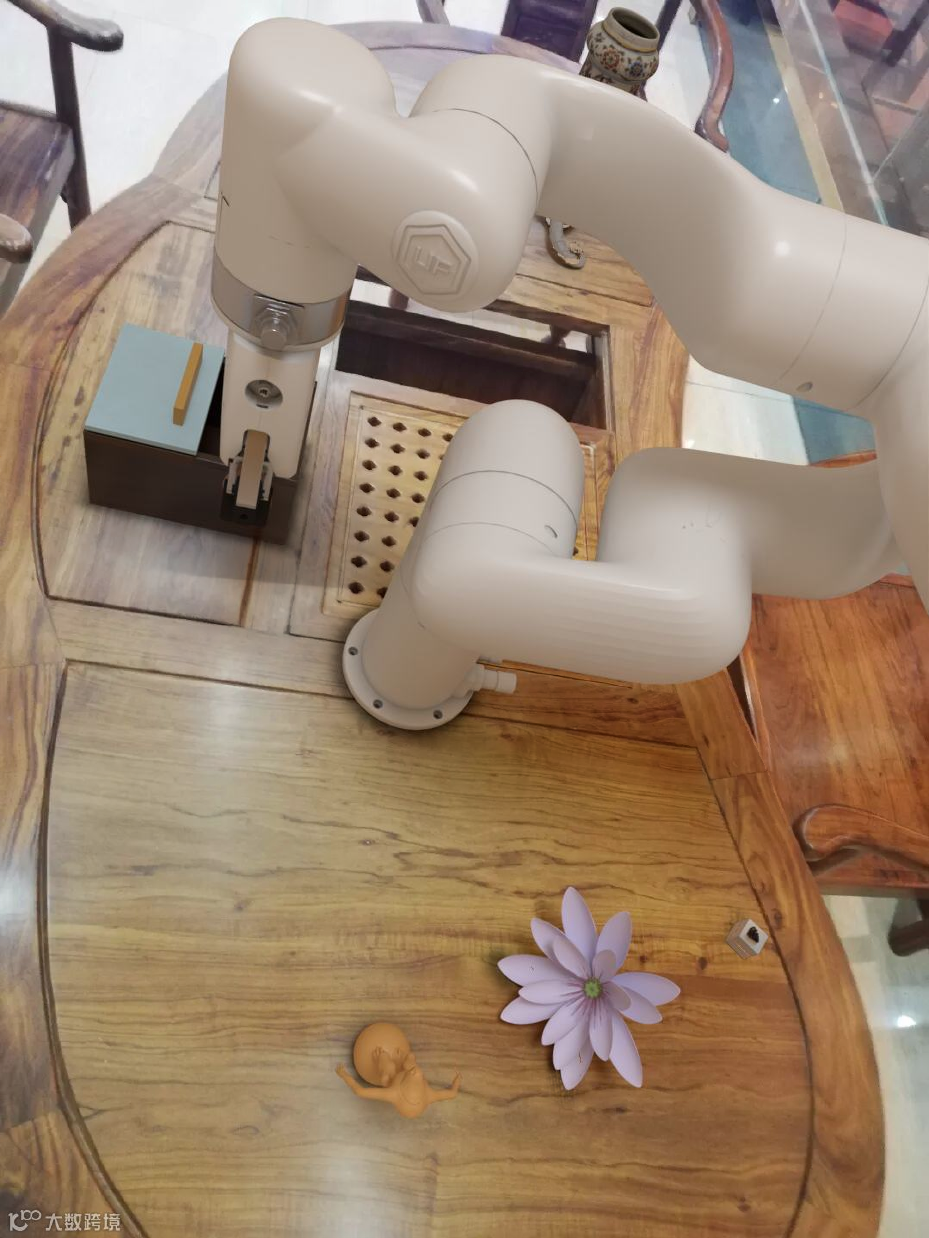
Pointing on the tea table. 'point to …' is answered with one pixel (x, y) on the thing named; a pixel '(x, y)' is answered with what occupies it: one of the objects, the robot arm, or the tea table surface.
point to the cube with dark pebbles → (746, 938)
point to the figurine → (393, 1071)
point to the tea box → (181, 478)
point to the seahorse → (562, 243)
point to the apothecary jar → (622, 50)
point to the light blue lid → (156, 389)
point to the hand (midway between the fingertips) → (248, 485)
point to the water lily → (585, 991)
